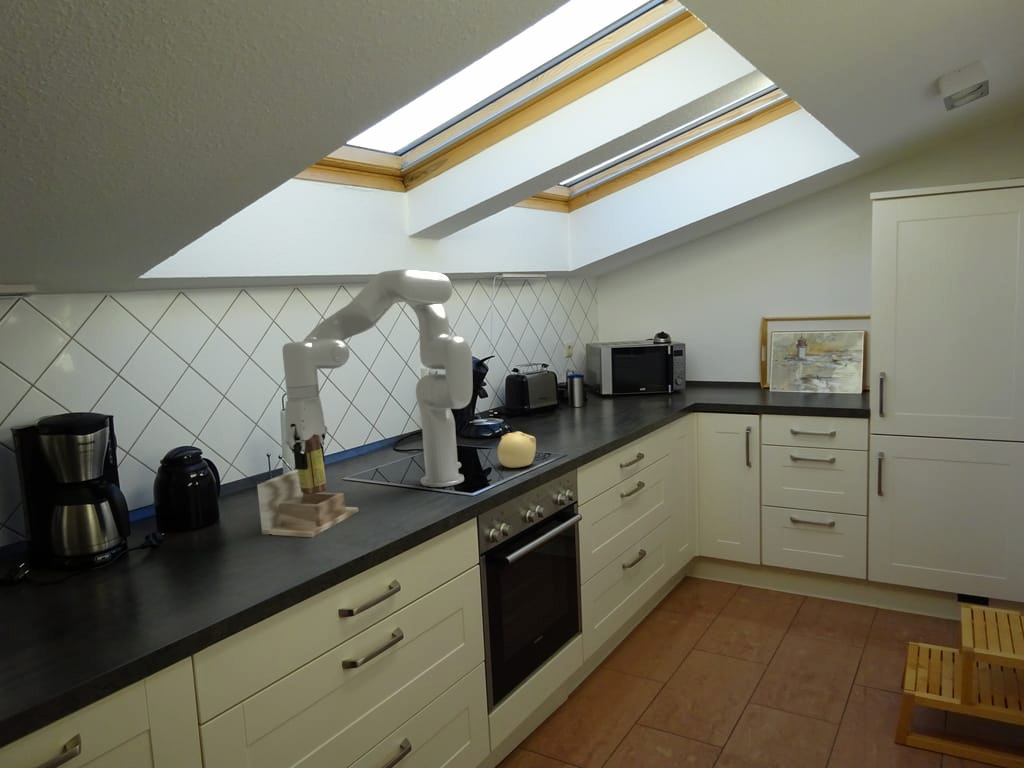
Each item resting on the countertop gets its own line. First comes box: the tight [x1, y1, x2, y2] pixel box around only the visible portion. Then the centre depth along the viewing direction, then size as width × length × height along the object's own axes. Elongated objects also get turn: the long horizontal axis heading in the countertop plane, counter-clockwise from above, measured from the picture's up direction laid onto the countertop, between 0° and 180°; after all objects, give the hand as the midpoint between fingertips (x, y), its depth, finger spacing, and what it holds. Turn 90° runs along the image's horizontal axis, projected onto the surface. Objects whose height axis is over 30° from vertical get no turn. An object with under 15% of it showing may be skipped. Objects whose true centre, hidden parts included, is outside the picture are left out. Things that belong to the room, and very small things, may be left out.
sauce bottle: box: [298, 434, 327, 494], centre depth 173 cm, size 6×6×20 cm
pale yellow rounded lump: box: [497, 430, 537, 469], centre depth 221 cm, size 12×12×11 cm
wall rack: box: [256, 468, 359, 538], centre depth 175 cm, size 20×14×12 cm
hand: (310, 465), depth 174 cm, fingers closed on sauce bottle, 6 cm apart
